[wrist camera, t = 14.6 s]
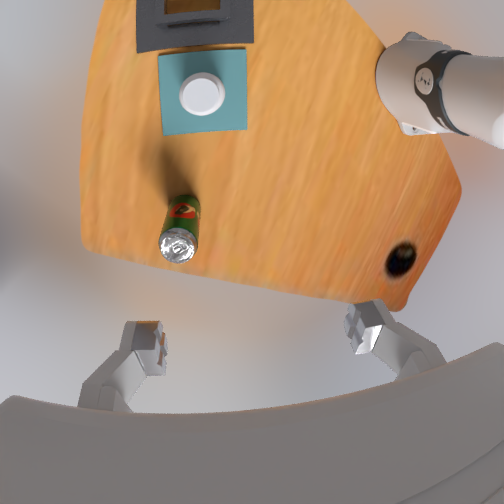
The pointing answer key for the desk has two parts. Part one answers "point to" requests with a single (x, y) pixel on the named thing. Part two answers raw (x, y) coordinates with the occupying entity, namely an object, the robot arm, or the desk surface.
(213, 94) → the pill bottle
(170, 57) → the mat
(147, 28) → the square frame
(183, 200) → the soda can
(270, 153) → the desk surface
